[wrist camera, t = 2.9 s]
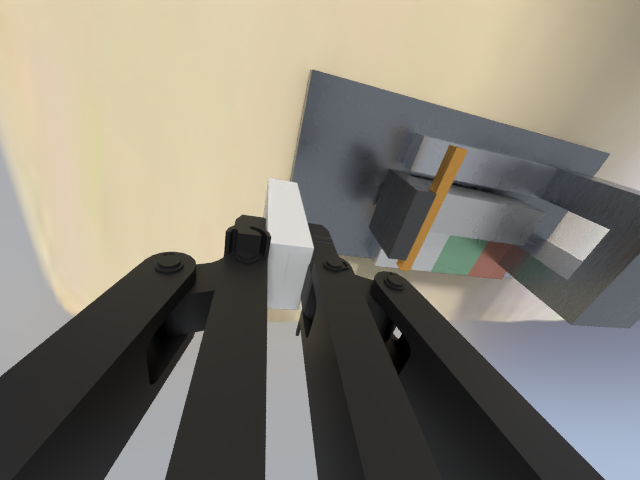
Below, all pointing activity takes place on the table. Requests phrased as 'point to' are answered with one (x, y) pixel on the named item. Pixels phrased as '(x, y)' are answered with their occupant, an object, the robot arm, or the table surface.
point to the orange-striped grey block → (445, 212)
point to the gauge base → (475, 173)
